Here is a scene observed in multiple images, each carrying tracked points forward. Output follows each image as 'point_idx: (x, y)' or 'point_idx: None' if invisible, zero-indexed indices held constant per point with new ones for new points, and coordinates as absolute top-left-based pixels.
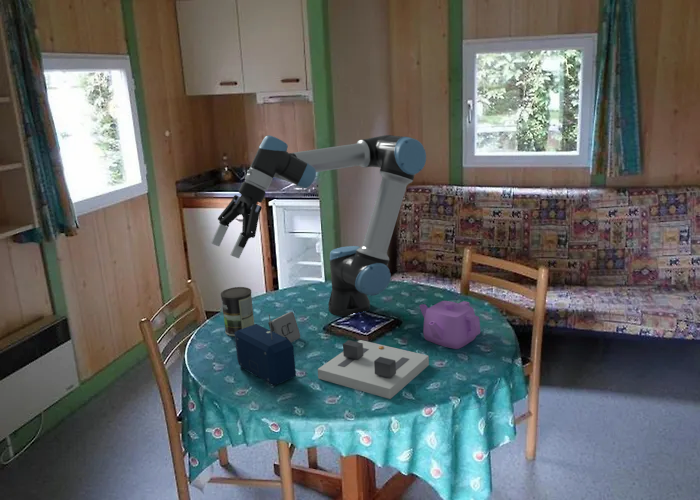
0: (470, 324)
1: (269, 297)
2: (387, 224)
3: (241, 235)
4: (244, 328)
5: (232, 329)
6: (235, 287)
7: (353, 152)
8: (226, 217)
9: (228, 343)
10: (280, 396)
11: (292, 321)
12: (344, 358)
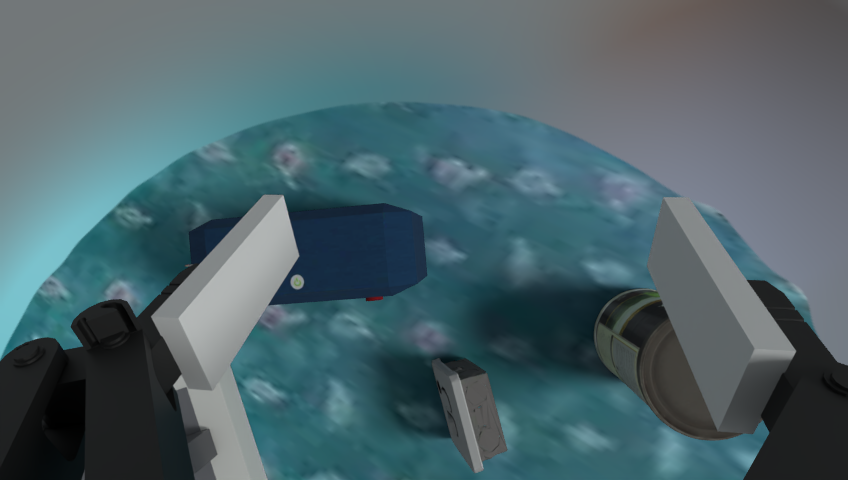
0: None
1: None
2: None
3: (156, 319)
4: (381, 237)
5: (622, 300)
6: None
7: None
8: (752, 469)
9: (575, 261)
10: (209, 218)
11: (460, 446)
12: (206, 425)
